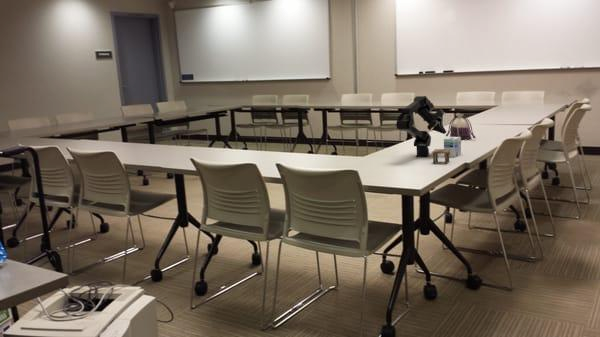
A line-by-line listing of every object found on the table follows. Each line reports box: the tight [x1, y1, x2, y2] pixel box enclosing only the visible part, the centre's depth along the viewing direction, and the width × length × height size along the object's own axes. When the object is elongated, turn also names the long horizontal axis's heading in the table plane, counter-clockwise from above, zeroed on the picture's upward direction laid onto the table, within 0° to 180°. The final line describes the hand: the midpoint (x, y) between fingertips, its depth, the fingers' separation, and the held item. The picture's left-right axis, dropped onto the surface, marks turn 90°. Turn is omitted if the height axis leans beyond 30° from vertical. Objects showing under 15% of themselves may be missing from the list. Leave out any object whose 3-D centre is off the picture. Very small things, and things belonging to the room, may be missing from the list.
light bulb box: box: [443, 136, 462, 158], centre depth 311 cm, size 11×7×11 cm, turn 143°
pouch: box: [445, 112, 476, 140], centre depth 370 cm, size 25×8×19 cm, turn 44°
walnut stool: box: [431, 148, 450, 165], centre depth 293 cm, size 8×8×7 cm
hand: (445, 132), depth 311 cm, fingers open, 3 cm apart
